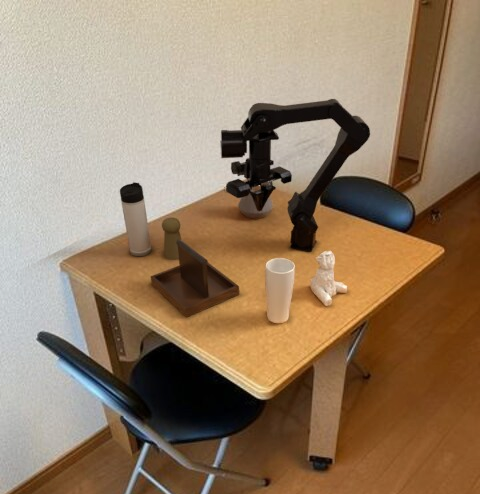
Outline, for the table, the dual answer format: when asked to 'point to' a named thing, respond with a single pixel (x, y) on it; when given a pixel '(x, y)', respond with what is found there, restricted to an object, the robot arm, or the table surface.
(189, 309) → the tray
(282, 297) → the drinking glass
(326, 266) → the sitting furry creature
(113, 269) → the table surface
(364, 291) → the table surface
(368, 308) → the table surface
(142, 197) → the travel mug
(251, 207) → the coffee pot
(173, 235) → the olive game pawn
